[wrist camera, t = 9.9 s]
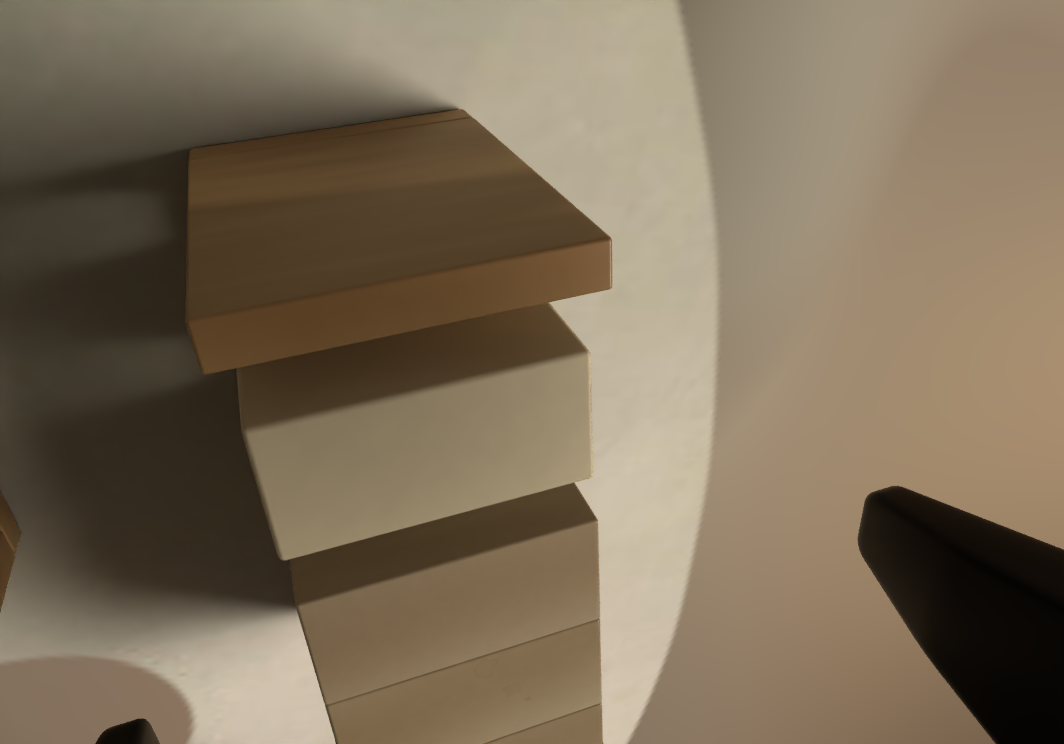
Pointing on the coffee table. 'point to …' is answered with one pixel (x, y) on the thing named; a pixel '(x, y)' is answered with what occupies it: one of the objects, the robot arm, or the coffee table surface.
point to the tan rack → (7, 545)
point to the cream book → (416, 426)
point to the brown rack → (388, 309)
